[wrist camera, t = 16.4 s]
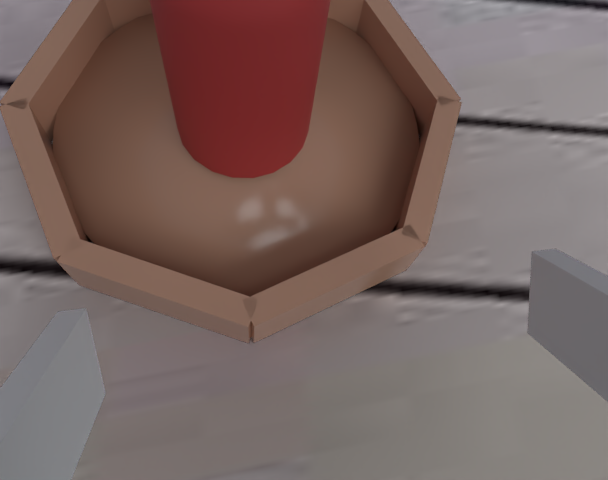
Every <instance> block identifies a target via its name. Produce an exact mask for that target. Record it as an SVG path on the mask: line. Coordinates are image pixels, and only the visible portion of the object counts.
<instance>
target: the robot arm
mask: <svg viewBox="0 0 608 480" xmlns="http://www.w3.org/2000/svg"><path fill="white" fill-rule="evenodd" d="M527 333H528V334H529V335H530V336H532V337H533V338H534V339H535V340H536V341H537V342H538V343H540V344H541V345H542V346H543V347H544V348H545V349H547V350H548V351H549V352H550V353H551V354H552V355H554V356H555V357H556V358H557V359H558V360H559V361H561V362H562V363H563V364H564V365H565V366H566V367H568V368H569V369H570V370H571V371H572V372H573V373H575V374H576V375H577V376H578V377H579V378H580V379H582V380H583V381H584V382H585V383H586V384H587V385H589V386H590V387H591V388H592V389H593V390H594V391H596V392H597V393H598V394H599V395H600V396H601V397H603V398H604V399H605V400H606V401H607V402H608V276H607V275H605V274H603V273H601V272H599V271H597V270H595V269H593V268H592V267H590V266H588V265H586V264H584V263H582V262H580V261H578V260H576V259H574V258H572V257H571V256H569V255H567V254H565V253H563V252H561V251H559V250H557V249H549V250H541V251H533V252H532V258H531V276H530V295H529V314H528V332H527ZM105 394H106V392H105V388H104V383H103V379H102V375H101V370H100V366H99V361H98V357H97V353H96V348H95V344H94V339H93V335H92V331H91V326H90V322H89V318H88V313H87V309H86V308H81V309H73V310H66V311H58V312H57V313H56V315H55V316H54V317H53V319H52V320H51V321H50V323H49V324H48V325H47V327H46V328H45V329H44V331H43V332H42V333H41V335H40V336H39V337H38V339H37V340H36V341H35V343H34V344H33V345H32V347H31V348H30V349H29V351H28V352H27V353H26V355H25V356H24V357H23V359H22V360H21V361H20V363H19V364H18V365H17V367H16V368H15V369H14V371H13V372H12V373H11V375H10V376H9V377H8V379H7V380H6V381H5V383H4V384H3V386H2V387H1V388H0V480H71V479H72V476H73V474H74V471H75V469H76V466H77V464H78V461H79V459H80V456H81V454H82V451H83V449H84V446H85V444H86V441H87V439H88V436H89V434H90V431H91V429H92V426H93V424H94V421H95V419H96V416H97V414H98V411H99V409H100V406H101V404H102V401H103V399H104V396H105Z"/></svg>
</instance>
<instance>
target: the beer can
mask: <svg viewBox="0 0 608 480" xmlns="http://www.w3.org/2000/svg"><path fill="white" fill-rule="evenodd" d="M150 5H151V10H152V14H153V19H154V23H155V28H156V33H157V37H158V42H159V46H160V51H161V56H162V60H163V65H164V69H165V74H166V79H167V83H168V88H169V92H170V97H171V102H172V106H173V111H174V115H175V120H176V124H177V129H178V132H179V135H180V138H181V141H182V144H183V146H184V147H185V148H186V150H187V151H188V152H189V154H190V155H191V156H192V157H193V159H194V160H196V161H197V162H199V163H200V164H202V165H203V166H205V167H206V168H208V169H209V170H211V171H212V172H215V173H218V174H222V175H225V176H228V177H232V178H256V177H259V176H263V175H267V174H271V173H274V172H275V171H277V170H279V169H280V168H282V167H284V166H285V165H287V164H288V163H290V162H291V161H292V160H293V159H294V158H295V156H296V155H297V154H298V153H299V152H300V150H301V149H302V148H303V146H304V143H305V140H306V137H307V134H308V131H309V125H310V119H311V113H312V108H313V102H314V96H315V90H316V84H317V78H318V72H319V66H320V60H321V54H322V48H323V42H324V36H325V30H326V24H327V18H328V12H329V6H330V0H150Z"/></svg>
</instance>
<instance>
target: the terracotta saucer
mask: <svg viewBox="0 0 608 480" xmlns="http://www.w3.org/2000/svg"><path fill="white" fill-rule="evenodd" d="M460 99H461V98H460V97H459V96H458V94H457V93H456V92H455V90H454V89H453V87H452V86H451V85H450V83H449V82H448V81H447V79H446V78H445V77H444V75H443V74H442V73H441V71H440V70H439V68H438V67H437V66H436V64H435V63H434V62H433V60H432V59H431V58H430V56H429V55H428V54H427V52H426V51H425V49H424V48H423V47H422V45H421V44H420V43H419V41H418V40H417V39H416V37H415V36H414V34H413V33H412V32H411V30H410V29H409V28H408V26H407V25H406V24H405V22H404V21H403V20H402V18H401V17H400V15H399V14H398V13H397V11H396V10H395V9H394V7H393V6H392V5H391V3H390V2H389V1H388V0H330V6H329V12H328V18H327V24H326V30H325V36H324V42H323V48H322V54H321V60H320V66H319V72H318V78H317V84H316V90H315V96H314V102H313V108H312V113H311V119H310V125H309V131H308V134H307V137H306V140H305V143H304V146H303V148H302V149H301V150H300V152H299V153H298V154H297V155H296V156H295V158H294V159H293V160H292V161H291V162H290V163H288V164H287V165H285V166H284V167H282V168H280V169H279V170H277V171H275V172H274V173H271V174H267V175H263V176H259V177H256V178H232V177H228V176H225V175H222V174H218V173H215V172H212V171H211V170H209V169H208V168H206V167H205V166H203V165H202V164H200V163H199V162H197V161H196V160H194V159H193V157H192V156H191V155H190V154H189V152H188V151H187V150H186V148H185V147H184V146H183V144H182V141H181V138H180V135H179V132H178V129H177V124H176V120H175V115H174V111H173V106H172V102H171V97H170V92H169V88H168V83H167V79H166V74H165V69H164V65H163V60H162V56H161V51H160V46H159V42H158V37H157V33H156V28H155V23H154V19H153V14H152V10H151V5H150V0H73V1H72V2H71V3H70V5H69V6H68V8H67V9H66V10H65V12H64V13H63V15H62V16H61V17H60V19H59V20H58V22H57V23H56V24H55V26H54V27H53V29H52V30H51V31H50V33H49V34H48V35H47V37H46V38H45V40H44V41H43V42H42V44H41V45H40V47H39V48H38V49H37V51H36V52H35V54H34V55H33V56H32V58H31V59H30V61H29V62H28V63H27V65H26V66H25V68H24V69H23V70H22V72H21V73H20V75H19V76H18V77H17V79H16V80H15V81H14V83H13V84H12V86H11V87H10V88H9V90H8V91H7V93H6V94H5V95H4V97H3V98H2V100H1V101H0V103H1V106H0V110H1V113H2V116H3V119H4V121H5V124H6V127H7V130H8V133H9V135H10V138H11V141H12V144H13V147H14V149H15V152H16V155H17V158H18V160H19V163H20V166H21V169H22V172H23V174H24V177H25V180H26V183H27V186H28V188H29V191H30V194H31V197H32V200H33V202H34V205H35V208H36V211H37V213H38V216H39V219H40V222H41V225H42V227H43V230H44V233H45V236H46V239H47V241H48V244H49V247H50V250H51V253H52V255H53V258H54V259H55V260H56V261H57V262H58V263H59V264H60V265H61V267H62V268H63V269H64V270H65V271H66V272H67V273H68V274H69V275H70V276H71V277H72V278H73V279H74V280H75V281H76V282H77V283H78V284H79V285H80V286H83V287H86V288H89V289H92V290H95V291H97V292H100V293H103V294H106V295H109V296H112V297H115V298H118V299H121V300H124V301H127V302H130V303H132V304H135V305H138V306H141V307H144V308H147V309H150V310H153V311H156V312H159V313H162V314H164V315H167V316H170V317H173V318H176V319H179V320H182V321H185V322H188V323H191V324H194V325H196V326H199V327H202V328H205V329H208V330H211V331H214V332H217V333H220V334H223V335H226V336H228V337H231V338H234V339H237V340H240V341H243V342H246V343H249V342H250V339H251V338H252V340H253V342H254V343H255V342H257V341H259V340H262V339H264V338H266V337H268V336H270V335H272V334H274V333H276V332H278V331H280V330H282V329H285V328H287V327H289V326H291V325H293V324H295V323H297V322H299V321H301V320H303V319H305V318H307V317H310V316H312V315H314V314H316V313H318V312H320V311H322V310H324V309H326V308H328V307H330V306H333V305H335V304H337V303H339V302H341V301H343V300H345V299H347V298H349V297H351V296H353V295H355V294H358V293H360V292H362V291H364V290H366V289H368V288H370V287H372V286H374V285H376V284H378V283H381V282H383V281H385V280H387V279H389V278H391V277H393V276H395V275H397V274H399V273H401V272H403V271H406V270H407V268H408V267H409V266H410V265H411V264H412V262H413V261H414V260H415V258H416V257H417V256H418V255H419V253H420V252H421V251H422V250H423V248H424V247H425V246H426V244H427V243H428V239H429V235H430V231H431V227H432V223H433V218H434V214H435V210H436V206H437V202H438V198H439V194H440V190H441V186H442V181H443V177H444V173H445V169H446V165H447V161H448V157H449V153H450V148H451V144H452V140H453V136H454V132H455V128H456V124H457V120H458V115H459V111H460V107H461V103H462V102H459V101H460ZM418 133H419V135H420V137H419V135H418ZM52 139H53V145H52V142H51V141H52ZM393 230H394V231H393ZM392 231H393V232H392ZM391 232H392V233H391ZM90 241H91V242H92V243H91V242H90Z"/></svg>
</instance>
